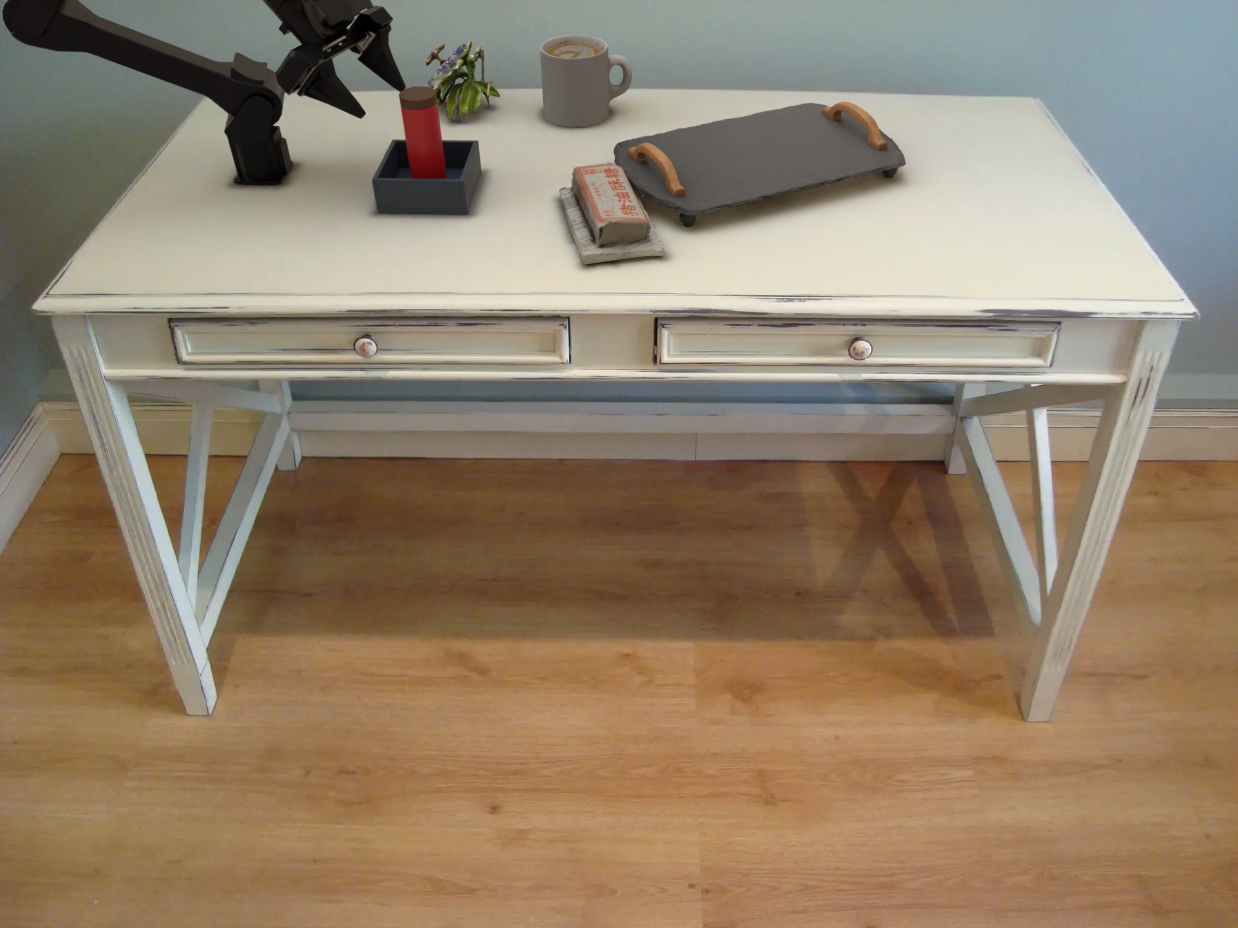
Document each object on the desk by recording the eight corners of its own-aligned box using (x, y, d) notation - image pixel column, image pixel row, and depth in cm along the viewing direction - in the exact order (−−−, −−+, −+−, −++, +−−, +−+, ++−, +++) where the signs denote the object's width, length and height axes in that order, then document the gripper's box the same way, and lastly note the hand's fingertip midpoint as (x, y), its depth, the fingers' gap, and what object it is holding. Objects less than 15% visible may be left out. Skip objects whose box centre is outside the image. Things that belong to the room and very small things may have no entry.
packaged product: (556, 164, 131) (632, 156, 133) (558, 198, 134) (631, 191, 136) (581, 230, 118) (665, 221, 119) (583, 267, 121) (664, 258, 123)
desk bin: (377, 213, 132) (371, 180, 129) (397, 171, 141) (392, 139, 138) (467, 214, 131) (463, 181, 128) (481, 172, 140) (478, 140, 137)
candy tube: (409, 194, 134) (395, 100, 126) (416, 178, 137) (403, 86, 129) (444, 195, 134) (432, 101, 125) (450, 179, 137) (439, 86, 129)
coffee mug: (541, 127, 152) (537, 58, 145) (546, 100, 159) (542, 34, 152) (631, 127, 151) (631, 59, 145) (632, 101, 159) (632, 35, 152)
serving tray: (668, 240, 126) (669, 193, 122) (592, 165, 142) (591, 122, 138) (924, 178, 138) (933, 133, 134) (827, 115, 154) (833, 74, 150)
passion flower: (446, 137, 162) (435, 60, 161) (512, 126, 160) (501, 47, 159) (422, 122, 151) (410, 39, 150) (493, 110, 149) (481, 25, 148)
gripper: (273, -22, 114) (373, 91, 118) (368, -64, 127) (455, 39, 131) (234, 41, 122) (329, 145, 126) (327, -5, 134) (411, 91, 138)
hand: (384, 103), depth 130 cm, fingers open, 9 cm apart
